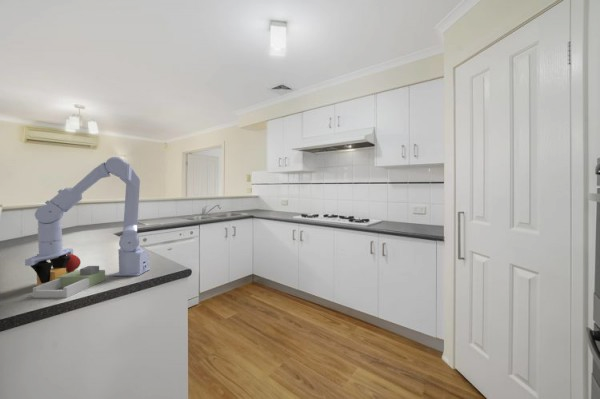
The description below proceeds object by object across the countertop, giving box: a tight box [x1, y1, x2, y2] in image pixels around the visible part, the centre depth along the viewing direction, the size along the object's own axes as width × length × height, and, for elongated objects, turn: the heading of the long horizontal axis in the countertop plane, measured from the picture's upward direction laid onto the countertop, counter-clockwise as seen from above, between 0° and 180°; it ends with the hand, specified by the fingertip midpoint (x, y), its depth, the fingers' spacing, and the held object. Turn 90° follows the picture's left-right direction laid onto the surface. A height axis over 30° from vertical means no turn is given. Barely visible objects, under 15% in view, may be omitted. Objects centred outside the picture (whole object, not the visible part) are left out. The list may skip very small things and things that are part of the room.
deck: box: [32, 265, 106, 299], centre depth 82 cm, size 10×15×6 cm, turn 1°
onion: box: [65, 253, 81, 273], centre depth 97 cm, size 6×6×8 cm
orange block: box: [36, 267, 67, 286], centre depth 85 cm, size 6×4×5 cm, turn 91°
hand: (52, 280), depth 85 cm, fingers closed on orange block, 4 cm apart
